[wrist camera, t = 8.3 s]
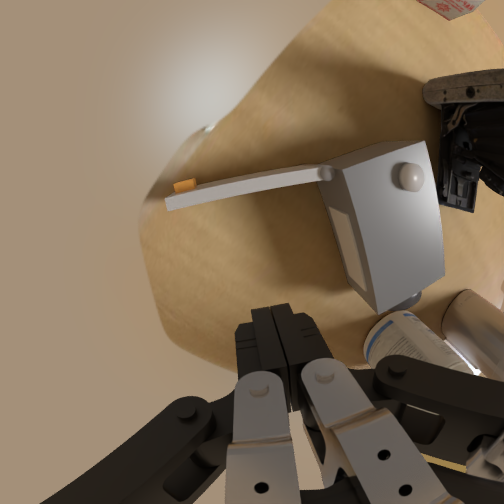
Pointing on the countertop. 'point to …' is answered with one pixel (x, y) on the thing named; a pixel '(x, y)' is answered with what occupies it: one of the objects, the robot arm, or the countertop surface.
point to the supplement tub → (409, 343)
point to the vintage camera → (469, 134)
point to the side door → (245, 184)
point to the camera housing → (386, 222)
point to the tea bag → (452, 7)
